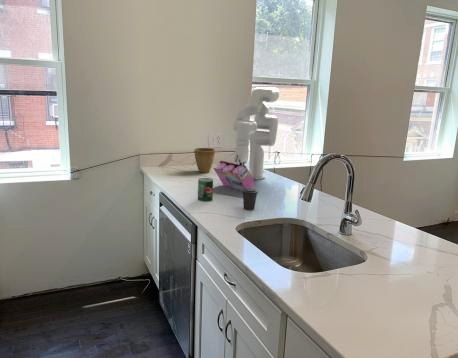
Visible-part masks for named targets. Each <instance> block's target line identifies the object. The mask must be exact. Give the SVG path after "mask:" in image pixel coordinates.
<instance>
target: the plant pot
mask: <svg viewBox="0 0 458 358" xmlns="http://www.w3.org/2000/svg"><path fill="white" fill-rule="evenodd" d="M193 153H194V158H195V164H196V167H197V169H198V172H199V173H202V174H205V173H206V174H208V173H210V172H211V169H212V167H213V163H214V159H215V154H216V149H215V148H212V147H197V148H194V149H193Z"/></svg>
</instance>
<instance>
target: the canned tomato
mask: <svg viewBox="0 0 458 358" xmlns="http://www.w3.org/2000/svg"><path fill="white" fill-rule="evenodd" d="M213 188H214V179H213V178H210V177H200V178H198V181H197V201H198V202H204V203H207V202H212V201H213V200H214V199H213V197H214V192H213Z"/></svg>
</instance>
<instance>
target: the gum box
mask: <svg viewBox="0 0 458 358" xmlns="http://www.w3.org/2000/svg"><path fill="white" fill-rule="evenodd" d="M213 170H214V172H215V174H216V175H217V177H218V179H219V181H220V182H221V183H222V185H223V186H225V187H228V188H234V189H239V190H243V189H247V188H250V189H253V187H254V185H255V184H256V182H255V179H253V178H252V176H251V174H250V173H249V168H248V167H247V165H245V166H244V165H239V164H236V163H234V162H229V161H226V160H220V161H219V163H218V164H216V166H215V167H213Z"/></svg>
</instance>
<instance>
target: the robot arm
mask: <svg viewBox="0 0 458 358" xmlns="http://www.w3.org/2000/svg"><path fill="white" fill-rule="evenodd" d="M279 96H280V91H279V89H278V88H277V87H264V86H262V87H255V88H254V89H252V90H251V94H250V96H249V99H248V101H247V105H246V106H245V107H243V108H242V109H241V110H239V111H238V112H237V114H236V115H235V118H234V122H233V125H232V128H233V129H232V130H233V131H234V132H235V133H236V138H235V139H236V140H235V142H236V143H235V148H234V156H233V163H234V162H235V164H239V165H244V166H246V163H247V161H248V162H249V163H248V164H249V165H248V171H249V173H250V174H251V176H252V178H253V180H265V178H266V176H265V175H264V173H265V170H264V159H265V151H264V149H263V147H273V146H275V144H276V140H277V134H278V126H279V120H278V118H277V116H276V115H269V110H270V108H269V105H268V104H267V103H274V102H277V101H278V100H279ZM252 116H254V120H245V119H246V118H248V117H252ZM262 146H263V147H262Z"/></svg>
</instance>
